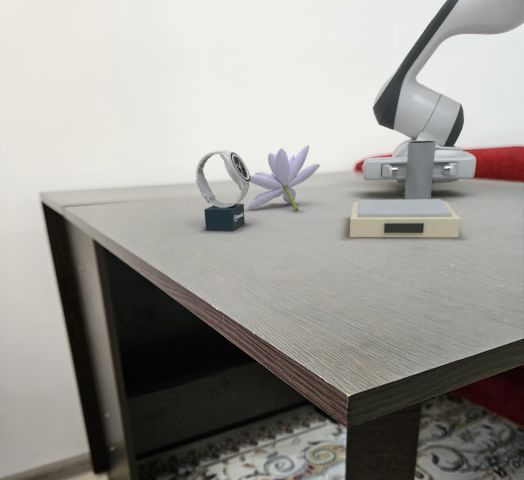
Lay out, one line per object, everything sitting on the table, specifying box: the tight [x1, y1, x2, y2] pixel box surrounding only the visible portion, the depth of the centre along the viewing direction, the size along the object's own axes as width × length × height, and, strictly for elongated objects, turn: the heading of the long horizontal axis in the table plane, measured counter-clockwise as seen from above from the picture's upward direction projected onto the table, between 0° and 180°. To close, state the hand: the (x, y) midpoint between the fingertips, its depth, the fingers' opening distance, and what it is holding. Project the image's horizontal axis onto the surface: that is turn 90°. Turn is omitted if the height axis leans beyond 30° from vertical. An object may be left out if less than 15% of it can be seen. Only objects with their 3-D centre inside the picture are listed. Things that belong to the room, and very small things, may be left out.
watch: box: [195, 150, 251, 232], centre depth 78 cm, size 6×8×11 cm
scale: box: [349, 198, 461, 239], centre depth 75 cm, size 14×14×3 cm
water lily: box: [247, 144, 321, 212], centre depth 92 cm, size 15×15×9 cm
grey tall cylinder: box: [403, 141, 436, 200], centre depth 92 cm, size 4×4×10 cm
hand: (420, 172), depth 92 cm, fingers open, 8 cm apart
